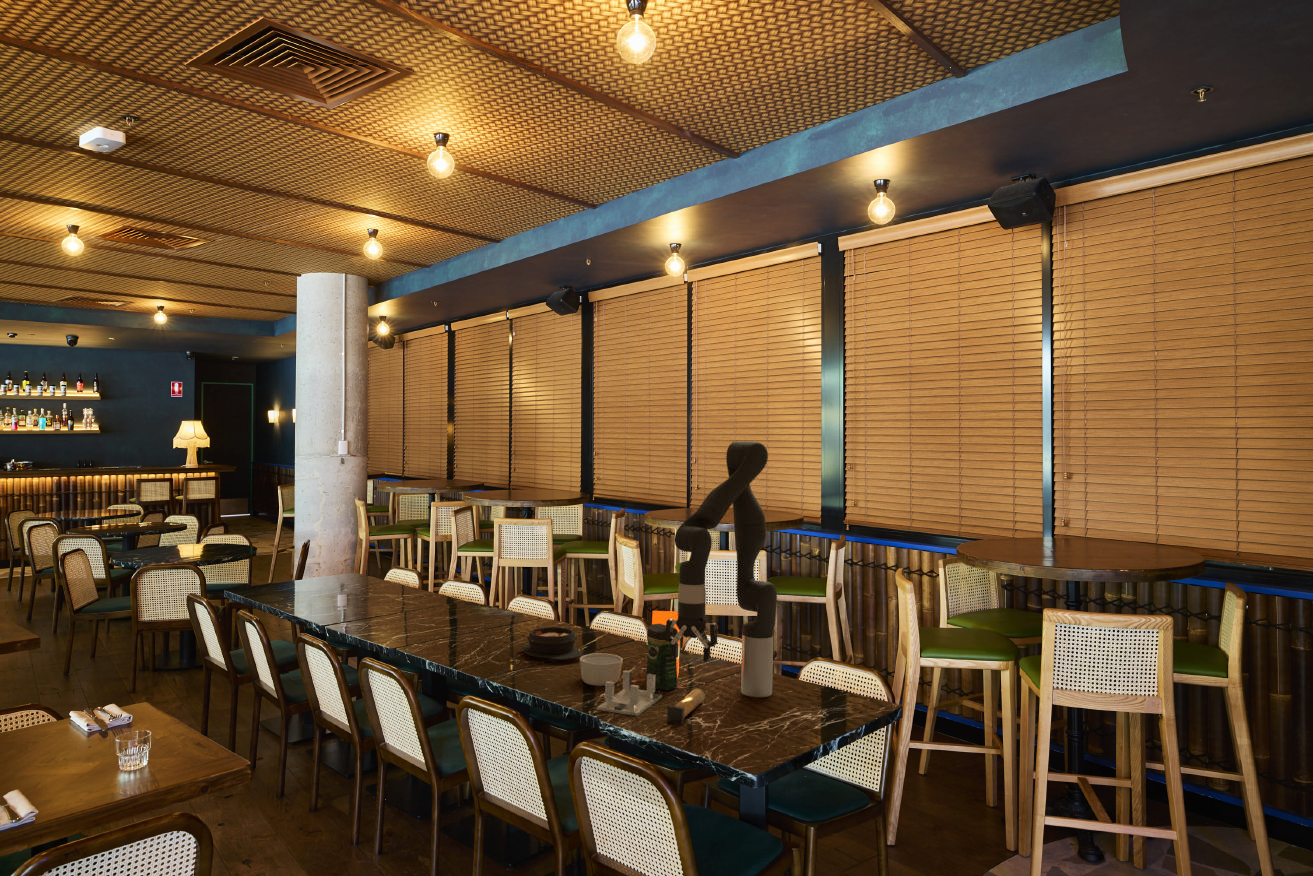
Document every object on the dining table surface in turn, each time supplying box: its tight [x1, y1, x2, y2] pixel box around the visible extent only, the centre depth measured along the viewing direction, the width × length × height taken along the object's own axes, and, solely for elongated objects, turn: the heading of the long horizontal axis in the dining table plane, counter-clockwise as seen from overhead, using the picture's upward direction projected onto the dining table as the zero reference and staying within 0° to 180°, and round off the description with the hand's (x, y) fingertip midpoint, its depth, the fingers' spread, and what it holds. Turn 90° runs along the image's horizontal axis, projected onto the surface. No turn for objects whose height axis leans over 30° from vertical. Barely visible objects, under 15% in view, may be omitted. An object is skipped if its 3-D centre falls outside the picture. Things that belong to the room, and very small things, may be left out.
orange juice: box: [651, 610, 680, 679], centre depth 253 cm, size 8×9×20 cm
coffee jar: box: [645, 623, 678, 691], centre depth 240 cm, size 10×8×19 cm
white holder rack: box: [596, 670, 663, 717], centre depth 223 cm, size 18×12×7 cm, turn 158°
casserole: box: [521, 626, 584, 661], centre depth 272 cm, size 25×19×8 cm
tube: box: [666, 688, 705, 725], centre depth 216 cm, size 19×4×4 cm, turn 158°
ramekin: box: [579, 652, 623, 687], centre depth 244 cm, size 13×13×7 cm
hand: (690, 659), depth 215 cm, fingers open, 8 cm apart
